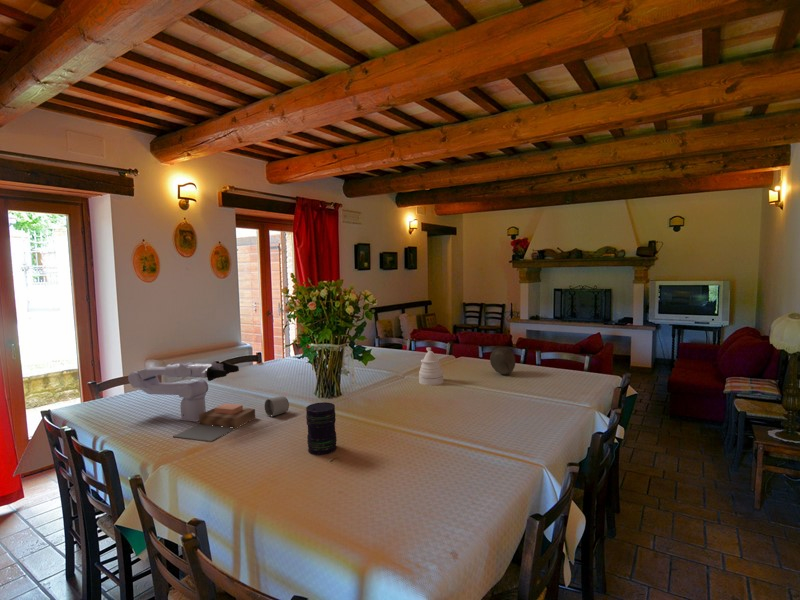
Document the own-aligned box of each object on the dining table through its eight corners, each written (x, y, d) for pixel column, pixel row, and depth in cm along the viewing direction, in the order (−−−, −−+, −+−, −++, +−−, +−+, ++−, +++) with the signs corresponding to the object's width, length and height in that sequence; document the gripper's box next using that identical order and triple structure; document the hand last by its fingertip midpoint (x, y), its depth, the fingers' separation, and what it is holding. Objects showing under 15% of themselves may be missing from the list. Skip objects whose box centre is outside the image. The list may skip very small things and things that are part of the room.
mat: (172, 437, 165) (172, 436, 165) (198, 425, 177) (198, 424, 177) (211, 441, 159) (211, 440, 159) (235, 429, 172) (235, 428, 172)
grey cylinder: (290, 413, 189) (289, 395, 188) (274, 418, 182) (273, 400, 182) (276, 409, 195) (275, 392, 195) (260, 414, 189) (259, 396, 189)
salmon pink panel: (214, 412, 180) (214, 407, 180) (225, 408, 185) (224, 403, 185) (233, 414, 177) (232, 409, 177) (242, 409, 183) (242, 404, 182)
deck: (199, 424, 178) (198, 415, 177) (220, 414, 189) (219, 405, 189) (236, 428, 172) (235, 418, 172) (255, 418, 183) (254, 408, 183)
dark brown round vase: (519, 372, 246) (518, 346, 245) (511, 378, 234) (510, 350, 233) (494, 370, 253) (494, 344, 252) (486, 375, 242) (485, 348, 240)
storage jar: (324, 441, 157) (322, 400, 156) (343, 447, 151) (341, 405, 149) (301, 450, 149) (299, 408, 148) (320, 458, 143) (318, 413, 142)
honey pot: (414, 380, 235) (414, 347, 234) (435, 377, 241) (434, 345, 239) (426, 386, 224) (425, 351, 222) (447, 383, 229) (447, 349, 228)
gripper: (190, 365, 175) (218, 365, 171) (216, 357, 189) (242, 357, 185) (192, 382, 176) (220, 383, 172) (217, 373, 189) (244, 373, 185)
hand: (232, 371), depth 178 cm, fingers open, 7 cm apart
